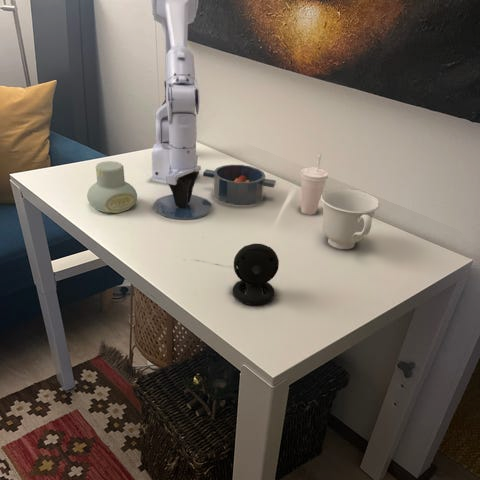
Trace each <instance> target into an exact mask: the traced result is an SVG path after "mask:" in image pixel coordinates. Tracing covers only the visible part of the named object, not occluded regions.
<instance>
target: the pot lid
mask: <svg viewBox="0 0 480 480" xmlns="http://www.w3.org/2000/svg"><path fill="white" fill-rule="evenodd" d="M212 205H213V204H212V203H211V202H210V201H209V200H208V199H206V198H205V197H202V196H199V195H196V194H192V195H191V199H190V202H189V203H188V194H187V202H186V206H185V207H184V208H183V207H177V206H176V204H175V201H174V197H173V193H172V194H168V195H164V196H161V197H159V198H157V199H156V200H155V201H154V203H153V209H154V211H155V212H156V213H157V214H158V215H160V216H162V217H165V218H168V219H172V220H178V221H179V220H181V221H187V220H188V221H189V220H197V219H200V218H204V217H206V216H208V215H209V214H210V213H211V212H212V209H213V206H212Z"/></svg>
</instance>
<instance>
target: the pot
mask: <svg viewBox="0 0 480 480" xmlns="http://www.w3.org/2000/svg"><path fill="white" fill-rule="evenodd" d="M241 175H243V176H245V177H246V180H249V182H234V181H235V180H236V178H239V177H240V176H241ZM202 176H203V177H206V178H212V179H213V180H212V181H213V182H212V183H213V184H212V195H213V198H215V199H216V200H217V201H219V202H222V203H224V204H227V205H233V206H250V205H254V204H255V205H256V204H258V203H260V202H261V201H263V199H264V194H265V187H267V188H272V189H273V188H275V186H276V185H277V180H275V179H269V178H266V174H265V172H264V171H263V170H261V169H259V168H257V167H254V166H251V165H245V164H225V165H222V166H218V167H216V168H215V169H213V170H212V169H205V170H204V171H202Z"/></svg>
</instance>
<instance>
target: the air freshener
mask: <svg viewBox="0 0 480 480" xmlns="http://www.w3.org/2000/svg"><path fill="white" fill-rule="evenodd" d="M124 168H125V167H124V165H123V164H122V163H121V162H119V161H112V160H111V161H109V160H108V161H107V160H106V161H101V162H98V163H97V164H96V166H95V171H96V172H95V173H96V182H94V183H93V184H92V185H91V186H90V187H89V188H88V190H87V193H86V198H87V201H88V203H89V205H90V206H91V207H92V208H94V209H95V210H97V211H99V212H102V213H107V214H118V213H123V212H126V211H128V210H129V209H131V208H132V207H133V206H134V205H135V204H136V202H137V199H138V193H137V191H136V189H135V187H134V186H133V185H131V184H130V183H129V182H127V181H125V179H126V178H125V169H124Z"/></svg>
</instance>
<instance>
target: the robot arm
mask: <svg viewBox="0 0 480 480" xmlns="http://www.w3.org/2000/svg"><path fill="white" fill-rule="evenodd" d="M198 8H199V0H151V10H152V11H151V12H152V14H151V15H152V16H153V20H154V22H155V21H156V22H157V23H159V24H161V27H162V31H163V35H164V58H165V60H164V61H165V80H166V103H165V104H164V105H163V106H162V105H161V106H160V107H159V108H158V109H156V112H155V139H156V140H155V141H156V142H155V143H154V144H153V147H152V150H151V172H152V174H151V175H152V178H151V180H152V181H158V182H164V183H166V184H167V185H168V186H169V189H170V191H171V193H172V194H173V197H174V201H175V204H176V206H177V207H183V208H184V207H185V206H186V202H187V194H188V203H189V202H190V199H191V195H193V190H194V187H195V183H196V180H197V179H198V176H199V175H200V171H201V170H202V166H201V165H198V155H197V134H198V133H197V132H198V131H197V115H199V110H200V91H199V90H200V89H199V85H198V81H197V78H196V72H195V71H196V70H195V59H194V57H195V56H194V54H193V52H192V51H191V50H189V48H188V37H189V36H188V35H189V33H188V32H189V31H188V30H189V27H188V25H190V24H192V23H194V22H195V18H196V17H197V11H198ZM165 116H168V118H163V117H165Z"/></svg>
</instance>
